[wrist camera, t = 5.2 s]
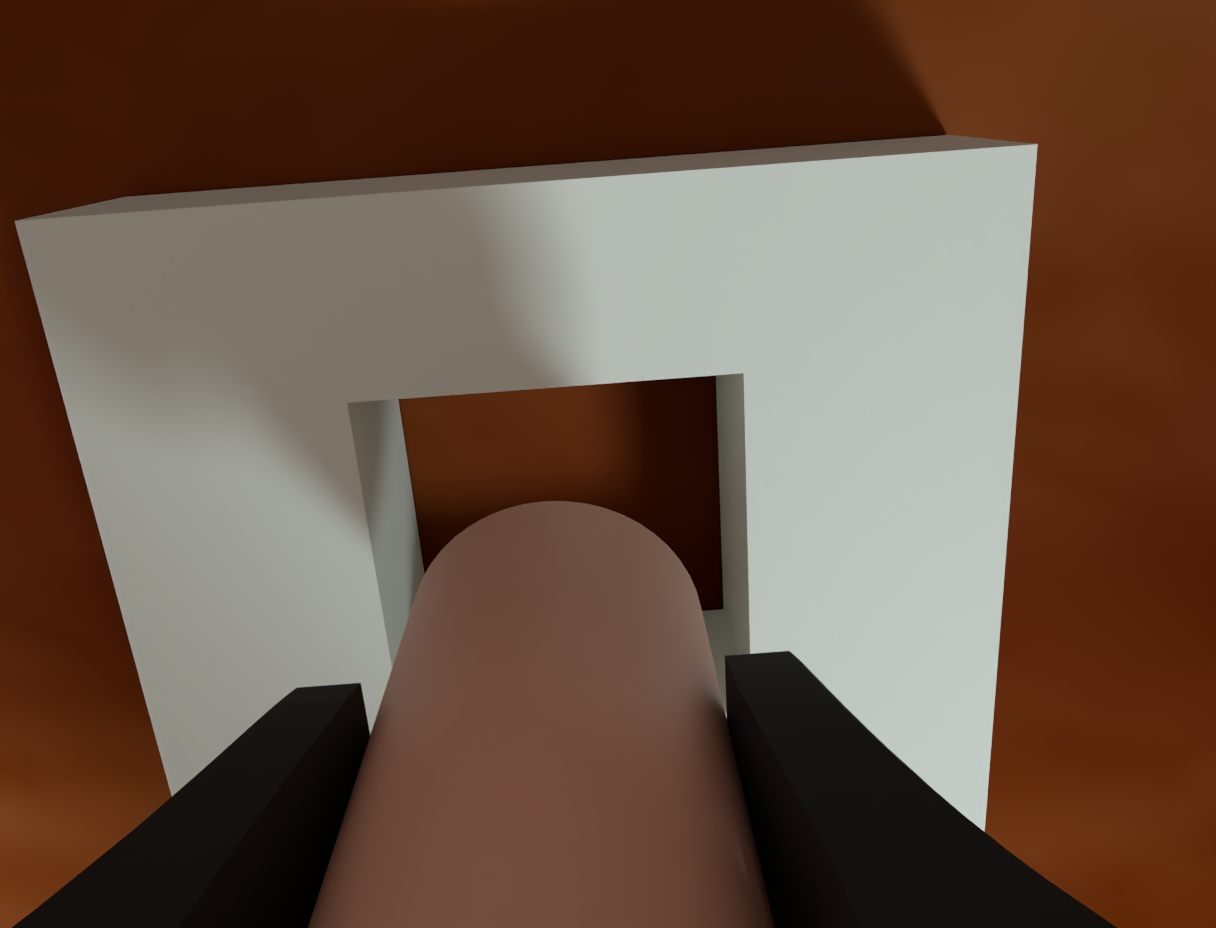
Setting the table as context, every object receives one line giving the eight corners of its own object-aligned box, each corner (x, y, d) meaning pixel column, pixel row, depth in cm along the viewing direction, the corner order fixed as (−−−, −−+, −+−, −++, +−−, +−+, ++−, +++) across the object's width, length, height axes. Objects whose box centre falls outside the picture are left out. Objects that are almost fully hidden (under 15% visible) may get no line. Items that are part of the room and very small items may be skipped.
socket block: (948, 134, 14) (1037, 144, 12) (921, 717, 18) (985, 833, 15) (125, 196, 14) (14, 221, 12) (258, 766, 18) (197, 891, 15)
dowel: (698, 490, 11) (950, 1360, 3) (707, 745, 12) (910, 1797, 5) (391, 511, 11) (-18, 1431, 3) (431, 765, 12) (193, 1848, 5)
